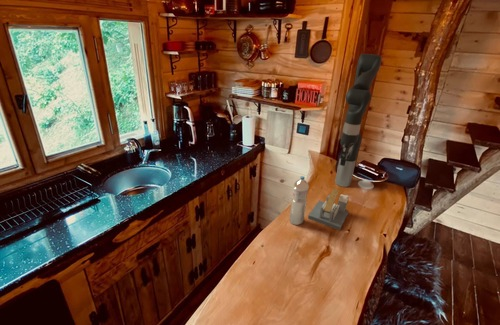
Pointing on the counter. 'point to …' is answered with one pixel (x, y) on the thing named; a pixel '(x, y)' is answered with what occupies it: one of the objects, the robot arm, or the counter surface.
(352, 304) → the counter surface
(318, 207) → the clip base
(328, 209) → the tan flat bar
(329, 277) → the counter surface
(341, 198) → the latch
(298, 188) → the water bottle
